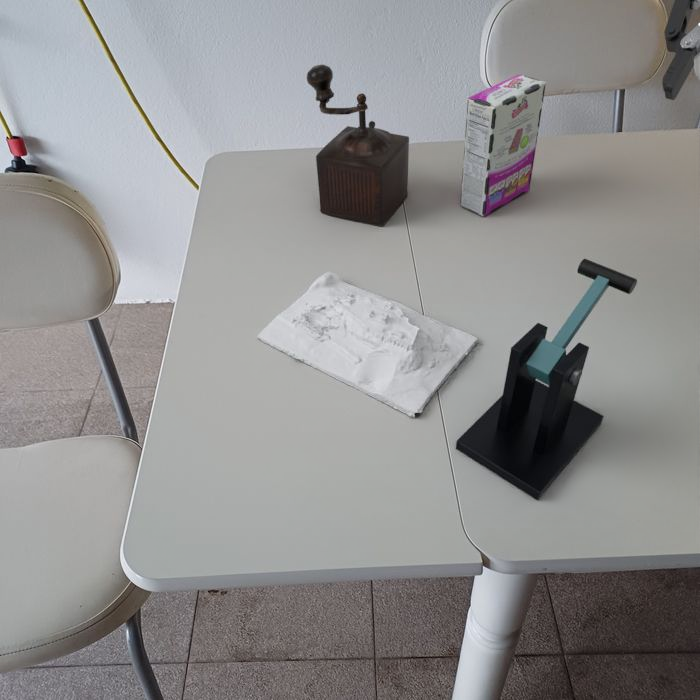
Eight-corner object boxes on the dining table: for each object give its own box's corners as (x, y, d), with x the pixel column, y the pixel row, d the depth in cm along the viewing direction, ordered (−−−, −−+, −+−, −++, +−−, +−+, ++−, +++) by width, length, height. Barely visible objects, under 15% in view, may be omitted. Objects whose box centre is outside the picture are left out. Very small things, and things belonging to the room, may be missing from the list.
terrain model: (318, 283, 85) (314, 250, 81) (486, 328, 75) (489, 293, 72) (244, 359, 74) (236, 325, 71) (428, 423, 65) (429, 387, 61)
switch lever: (585, 267, 61) (585, 252, 59) (636, 287, 58) (638, 273, 56) (514, 367, 59) (511, 356, 56) (564, 393, 56) (563, 382, 54)
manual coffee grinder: (411, 192, 99) (415, 72, 87) (383, 228, 92) (383, 102, 80) (322, 174, 104) (313, 58, 92) (288, 207, 97) (274, 86, 85)
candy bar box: (503, 180, 101) (518, 72, 90) (530, 191, 98) (549, 81, 87) (456, 206, 96) (466, 95, 85) (483, 218, 93) (497, 105, 82)
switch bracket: (522, 381, 69) (540, 293, 61) (601, 423, 64) (632, 334, 56) (455, 448, 62) (466, 360, 54) (537, 500, 58) (562, 412, 50)
